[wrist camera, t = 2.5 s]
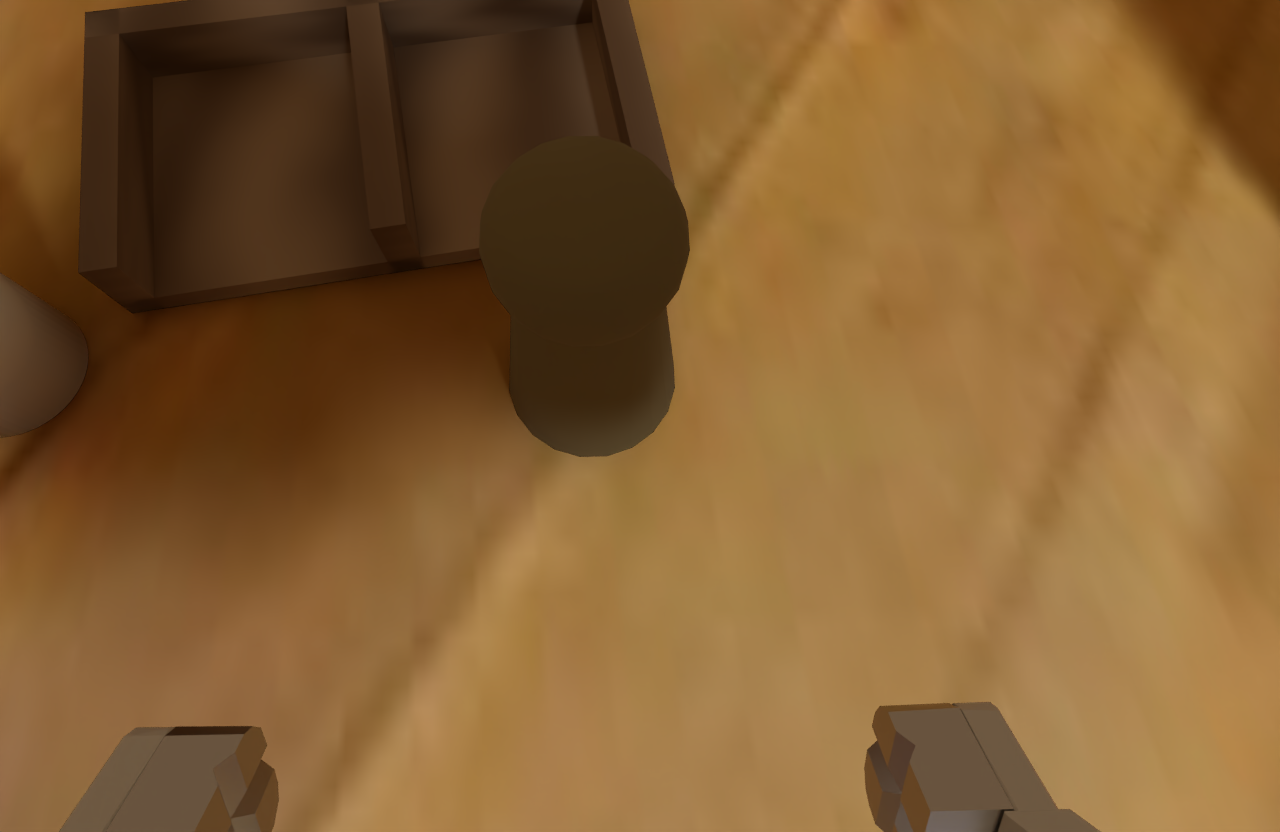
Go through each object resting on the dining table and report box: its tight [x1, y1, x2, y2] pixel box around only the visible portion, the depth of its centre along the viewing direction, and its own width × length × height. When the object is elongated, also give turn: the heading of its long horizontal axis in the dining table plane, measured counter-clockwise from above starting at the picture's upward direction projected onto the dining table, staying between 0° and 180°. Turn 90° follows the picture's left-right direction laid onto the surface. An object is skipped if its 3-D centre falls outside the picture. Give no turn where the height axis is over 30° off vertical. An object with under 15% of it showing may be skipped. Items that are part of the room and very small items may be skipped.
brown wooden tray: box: [78, 0, 674, 313], centre depth 29 cm, size 20×11×3 cm, turn 101°
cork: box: [479, 136, 690, 457], centre depth 23 cm, size 6×6×11 cm
